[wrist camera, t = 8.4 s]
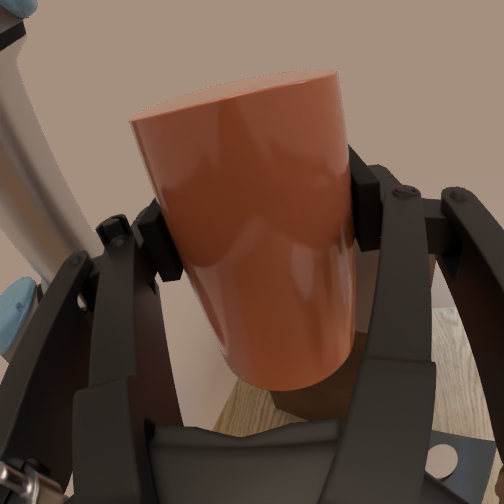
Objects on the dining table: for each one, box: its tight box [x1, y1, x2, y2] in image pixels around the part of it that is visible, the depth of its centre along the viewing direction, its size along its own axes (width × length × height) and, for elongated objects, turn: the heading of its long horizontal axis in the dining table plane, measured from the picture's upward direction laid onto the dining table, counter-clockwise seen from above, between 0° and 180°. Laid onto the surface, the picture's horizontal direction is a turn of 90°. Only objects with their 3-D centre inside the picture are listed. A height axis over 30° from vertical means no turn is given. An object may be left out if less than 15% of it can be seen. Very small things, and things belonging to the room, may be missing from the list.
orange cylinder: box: [129, 70, 356, 391], centre depth 13 cm, size 7×7×12 cm
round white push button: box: [425, 444, 458, 481], centre depth 22 cm, size 4×4×2 cm
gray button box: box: [428, 430, 497, 504], centre depth 23 cm, size 12×10×6 cm
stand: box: [270, 238, 436, 428], centre depth 34 cm, size 16×12×22 cm
